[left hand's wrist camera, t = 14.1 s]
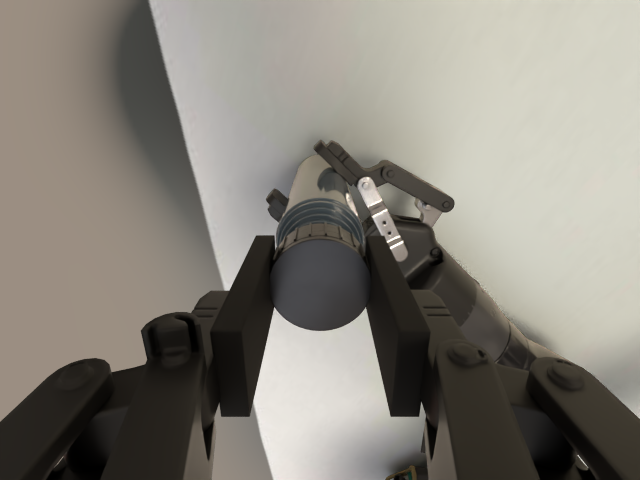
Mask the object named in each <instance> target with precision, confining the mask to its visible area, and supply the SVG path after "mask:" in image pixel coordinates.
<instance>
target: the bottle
mask: <svg viewBox="0 0 640 480" xmlns="http://www.w3.org/2000/svg"><path fill="white" fill-rule="evenodd" d="M325 222H326V223H327V224H330V225H335V226H337V227H339V226H341V228H342V229H344V230H346V231H347V232H349V233H350V234H351V233H353V235H354V237H355V238H356V239H357V240H358V242H359V243H360V244H361V243H362V245H363V247H364V231H363V227H362V224H361V221H360V218H359V215H358V212H357V209H356V207H355V204H354V201H353V198H352V195H351V192H350V189H349V186H348V183H347V182H346V181H345V180H344V179H343V177H342V176H340V175H339V174H338V173H337V172H336V171H335V170H334V169H333V168H332V167H331V166H330V165H329V164H328V163H327V162H326V161H325V160H324V159H323V158H322V157H321V156H320V155H319V154H317V155H313V156H310V157H308V158H307V159H305V160H304V161H303V162H302V163H301V164H300V166H299V168H298V170H297V173H296V176H295V179H294V182H293V185H292V188H291V190H290V193H289V196H288V199H287V202H286V205H285V208H284V211H283V214H282V216H281V219H280V222H279V225H278V228H277V233H276V244H277V247H279V245H280V244H281V242H282V241H283V239H284V237H285V236H288V235H289V234H290V233H291V232H293V231H295V229H296V228H300V227H303V226H306V225H309V224H310V223H312V224H318V223H322V224H324V223H325Z"/></svg>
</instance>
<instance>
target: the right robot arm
mask: <svg viewBox="0 0 640 480" xmlns="http://www.w3.org/2000/svg"><path fill="white" fill-rule="evenodd" d="M314 150H315V151H316V152H317V153H318V154H319V155H320V156H321V157H322V158H323V159H324V160H325V161H326V162H327V163H328V164H329V165H330V166H331V167H332V168H333V169H334V170H335V171H336V172H337V173H338V174H339V175H340V176H342V177H343V179H344V180H345V181H346V182H347V183H348V184H349V185H350V186H352V185H353V184H354V185H355V186H356V187H357V188H358V190H359V192H360V194H361V196H362V198H363V200H364V202H365V204H366V206H367V208H368V210H369V212H370V214H371V215H370V216H369V217H368V218H367V219H366V220H365V221H364V222H363V224H362V227H363V231H364V247H363V249H364V252H365V244H366V236H385V238H386V240H387V242H388V244H389V247H390V249H391V251H392V253H393V255H394V257H395V259H396V261H397V263H398V265H399V267H400V269H401V271H402V273H403V275H404V277H405V280H406V282H407V284H408V286H409V288H410V290H431V291H432V292H434V293H435V294H436V295H438V296H439V297H440V298H441V299H442V301H443V302H444V304H445V305H446V309H448V310H449V312H450V313H451V316H452V317H453V318H454V320H455V322H456V323H457V325H458V326H459V328H460V330H461V331H462V333H463V334H464V336H465V338H466V339H467V341H470V342H472V343H475V344H477V345H479V346H481V347H482V348H483V349H485V350H486V351H487V352H488V353H489V354H490V356H491V357H492V359H493V361H494V363H497V364H500V365H504V366H508V367H513V368H517V369H522V370H526V371H530V367H531V363H532V362H533V361H534V360H536V359H537V358H542V357H553V358H559V359H563V360H567V359H565V358H563V357H561V356H559V355H558V354H556V353H554V352H552V351H550V350H549V349H547V348H545V347H543V346H542V345H540V344H537V343H535V342H533V341H531V340H529V339H527V338H526V337H525V336H524V335H523V334H522V333H521V332H520V330H519V329H518V328H517V327H516V326H515V325H514V324H513V323H512V322H511V321H510V320H509V319H508V318H507V317H506V316H505V315H504V314H503V313H502V312H501V311H500V309H499V308H498V306H497V305H496V303H495V302H494V301H493V299H492V298H491V297H490V296H489V295H488V294H487V293H486V292H485V291H484V290H483V289H482V288H481V286H480V285H479V283H478V282H477V281H476V280H475V279H473V278H472V277H471V276H470V275H469V274H468V273H467V272H466V271H465V270H464V269H463V268H462V267H461V266H460V265H459V264H458V263H457V262H456V261H455V260H454V259H453V258H452V257H451V256H450V255H449V254H448V253H447V252H446V251H445V250H444V249H443V248H442V247H441V246H440V245H439V244H438V243H437V241H436V239H435V235H434V231H433V229H432V227H433V225H434V224H435V222H436V221H437V219H438V218H439V217H440V215H441V214H442V212H449V211H451V210H452V209H453V207H454V200H453V199H452V198H451V197H450V196H448V195H447V194H446V193H444V192H443V191H441V190H440V189H438V188H436V187H434V186H433V185H431V184H429V183H427V182H425V181H424V180H422V179H420V178H418V177H417V176H415V175H413V174H411V173H409V172H408V171H406V170H404V169H402V168H401V167H399V166H397V165H395V164H393V163H392V162H390V161H388V160H383V161H381V162H380V163H379V164H377V165H375V166H373V167H371V168H363V167H361V166H360V165H359V164H358V163H357V162H356V161H355V160H354V159H353V158H352V157H351V156H350V155H349V154H348V153H347V152H346V151H345V150H344V149H343V148H342V147H341V146H340V145H339V144H338V143H336V142H334V141H332V140H331V141H330V142H329V143H328V144H327V145H326V144H325V143H324V142H323V141H322V140H320V141H319V142H318V143H317V144H316V145H315V146H314ZM387 182H388V183H390V184H392V185H394V186H396V187H398V188H399V189H401V190H403V191H405V192H407V193H408V194H410V195H412V196H414V197H416V199H415V202H414V203H415V206H416V207H417V208H418V209H419V211H420V213H421V215H420V218H413V217H406V216H398V215H391V214H389V212H388V210H387V208H386V206H385V204H384V202H383V200H382V198H381V196H380V194H379V192H378V190H377V188H376V187H378V186H381V185H383V184H385V183H387ZM266 201H267V202H268V203H269V205H270V206H269V208H268V211H269V213H270V215H271V216H272V217H273V218H274V219H275V220H277V222H280V219H281V216H282V214H283V211H284V208H285V205H286V202H287V198H286V197H285V196H284V195H283V194H282V193H281V192H280V191H278V190H277V189H273V190H272V192H271V193H270V194H269V195H268V196H267V198H266ZM567 361H569V360H567ZM569 362H570V361H569Z"/></svg>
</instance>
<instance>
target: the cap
mask: <svg viewBox="0 0 640 480" xmlns="http://www.w3.org/2000/svg"><path fill="white" fill-rule="evenodd" d="M272 261H273V264H272V267H271V270H270V274H269V280H270V297H271V301H272V303H273V305H274V307H275V308H276V310H277V311H278V312H279V313H280V314H281V315H282V316H283V317H284V318H285V319H286V320H287V321H289V322H290V323H292V324H294V325H296V326H298V327H301V328H304V329H308V330H315V331H326V330H332V329H336V328H339V327H342V326H344V325H346V324H348V323H350V322H351V321H353V320H354V319H356V318H357V317H358V316H359V315H360V314H361V313H362V311H363V310H364V309H365V307H366V306H367V304H368V302H369V299H370V287H371V273H370V268H369V265H368V262H367V258H366V255H365V252H364V249H363V245H362V243H361V244H360V243H359V242H358V240H357V239H356V238H355V237H354V235H353V233H351V234H350V233H349V232H347V231H346V230H344V229H342V228H341V226H339V227H337V226H335V225H330V224H327V223H326V222H325V223H324V224H322V223H318V224H312V223H310V224H309V225H306V226H303V227H300V228H296V229H295V231H293V232H291V233H290V234H289V235H288V236H285V237H284V239H283V241H282V242H281V244H280V245H279V247H276V250H275V254H274V257H273V260H272Z"/></svg>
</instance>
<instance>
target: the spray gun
mask: <svg viewBox="0 0 640 480" xmlns="http://www.w3.org/2000/svg"><path fill="white" fill-rule="evenodd" d="M410 471H411V472H410ZM407 472H408V475H407V474H406V473H407ZM392 478H394V480H429V479H428V468H423V467H414V465H410V466H409V468H408V469H405V470H403V471H400V472H398V473H395V474H393V475H390V476H388V477H387V478H386V479H385V480H390V479H392Z"/></svg>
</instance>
